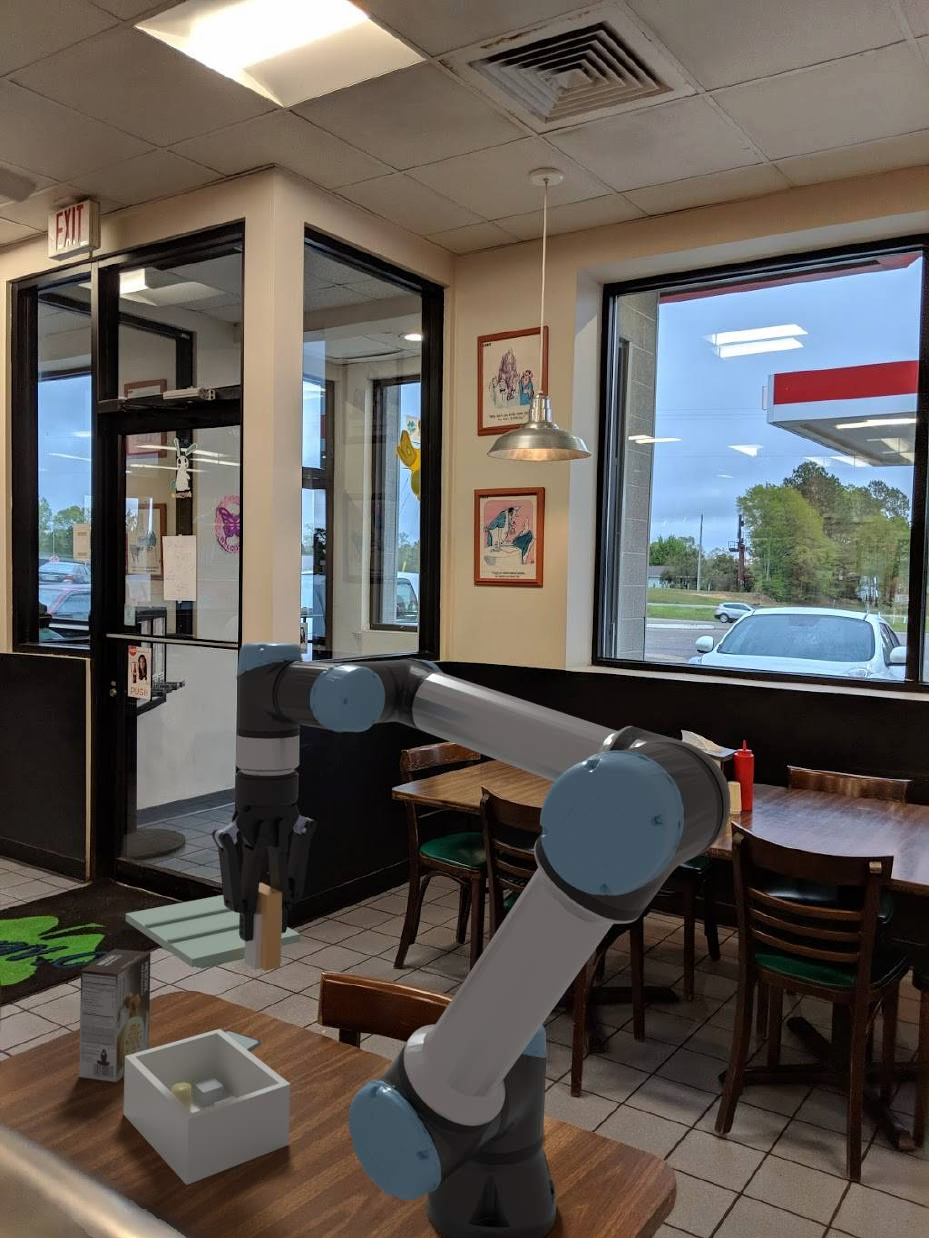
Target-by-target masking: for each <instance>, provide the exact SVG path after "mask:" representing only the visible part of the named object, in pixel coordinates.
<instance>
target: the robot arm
mask: <svg viewBox="0 0 929 1238" xmlns="http://www.w3.org/2000/svg"><path fill="white" fill-rule="evenodd" d="M237 664H238V667H237V675H236V681H237V683H236V687H237V689H236V691H237V693H236V694H237V697H236V737H235V739H236V745H235V747H236V748H235V749H236V750H235V754H236V755H235V766H236V767H237V768H238V769H239V770H238V771H237V772H236V773H235V776H234V778H235V780H234V802H235V803H234V804H235V810H234V812H233V814H232V817H231V822H230V823H228V824H227V825H226V826H225V827H224V828H221V829H219V828H216V829H214V830H213V831H212V832H211V837H212V839H213V841H214V843H215V845H216V847H217V849H218V859H219V870H220V876H221V877H220V879H221V885H222V886H221V887H222V888H221V889H222V895H223V898H224V905H225V907H227V908H229V909H230V910H232V911H234V912H236V913H239V915H240V916H239V936H240V938H241V939H242V940H244V941H245V957H244V959H243V960H244V964H245V965H247V966H249V968H252V969H253V970H255V971H256V970H259V969H261V933H262V914H261V913H259V912H257V911H256V909H257V900H258V891H259V883H261V882H260V881H261V872H262V863H263V858H264V857H265V855H266V851H267V855H268V867H269V882H270V885H269V886H270V887H272V888H274V889H276V890H278V891H280V892H282V913H281V935H282V933H286V930H287V927H288V915H289V914H288V913H289V912H288V911H289V910H291V909H292V908H293V905H294V903H293V902H295V901H300V900H301V899H302V898H303V895H304V887H305V883H306V882H305V881H306V874H307V867H308V859H309V854H310V847H311V841H312V837H313V834H314V833H315V831H316V829H317V827H318V826H317V825H318V822H317V821H316V820H314V819H311V818H309V817H306V816H303V815H301V814H300V811H299V808H298V805H297V801H298V798H299V773H298V771H297V770H295V769H297V768H298V767H299V766H300V731H301V727H300V726H304V727H305V726H306V727H312V728H318V729H325V730H329V731H333V732H336V733H343V732H353V733H360V732H365V731H367V730H369V729H370V728H371V727H373V725H374V724H382V723H391V722H394V723H395V722H396V723H397V722H398V723H400V724H403V725H406V726H408V727H411V728H414V729H416V730H419V731H422V732H425V733H427V734H430V735H433V736H435V737H437V738H441V739H443V740H445V741H448V742H450V743H453V744H455V745H458V746H461V747H463V748H465V749H469V750H470V751H474V752H476V753H478V754H481V755H484V756H486V757H490V758H492V759H494V760H496V761H500V762H502V763H505V764H508V765H510V766H512V767H515V768H518V769H520V770H523V771H525V772H528V773H529V774H533V775H535V776H539V777H541V778H543V779H546V780H548V781H551V782H554V783H553V784H552V786H551V787H550V789H549V790H548V792H547V794H546V796H545V799H544V801H543V804H542V808H541V810H540V811H541V812H540V816H539V817H540V818H539V825H540V826H541V828H542V832H541V833H540V835H539V837H538V838H537V839H536V841H535V844H534V846H533V856H534V858H535V862H536V864H537V867H538V868H537V869H536V871H535V872H534V874H533V875H532V877H531V879H530V880H529V881H528V883H527V884H526V886H525V887H524V889H523V890H522V892H521V893H520V895H519V896H518V898H517V900H516V901H515V903H514V904H513V906H512V907H511V909H509V912H508V913H507V915H506V917H505V918H504V920H503V921H502V923H501V924H500V925H499V927H498V929H497V930H496V932H495V933H494V935H493V937H492V938H491V939H490V941H489V943H488V944H487V945H486V947H485V949H484V950H483V952H482V953H481V954H480V956H479V957H478V959H477V961H476V962H475V964H474V966H473V967H472V969H471V970H470V971H469V972H468V974H467V976H466V978H465V979H464V980H463V982H462V983H461V985H460V987H459V989H458V990H457V991H456V993H455V994H454V996H453V997H452V999H451V1001H450V1002H449V1003H448V1005H447V1007H445V1010H444V1012H443V1013H442V1014H441V1015H440V1017H439V1019H437V1022H436V1023H435V1024H429V1025H428V1024H426V1025H424V1026H421V1027H420V1028H418V1029H416V1030H415V1031H414V1032H413V1033H412V1034H411V1036H410V1037H409V1038H408V1039H407V1041H406V1043H405V1044H404V1046H403V1047H402V1048H401V1050H400V1052H399V1053H398V1054H397V1056H396V1058H394V1059H395V1060H394V1061H393V1063H392V1064H391V1065H390V1067H389V1068H388V1069H386V1071H385V1072H384V1073H383V1074H382V1075H381V1076H379V1077H378V1078H376V1079H372V1080H370V1081H367V1083H365V1084H364V1086H363V1087H362V1088H360V1090H359V1091H357V1093H356V1094H355V1095H354V1097H353V1098H352V1101H351V1103H350V1106H349V1112H348V1130H349V1135H350V1137H351V1140H352V1142H351V1143H352V1147H353V1150H354V1152H355V1155H356V1157H357V1159H358V1161H359V1164H360V1166H361V1167H362V1169H363V1170H364V1172H365V1173H366V1174H367V1176H368V1178H370V1179H371V1181H372V1182H373V1183H374V1184H375V1185H376V1186H377V1187H378V1188H379V1189H380V1190H381V1191H383V1192H384V1193H385V1194H387V1195H389V1196H391V1197H393V1198H398V1199H399V1200H402V1201H413V1200H414V1201H415V1200H417V1199H419V1198H421V1197H423V1196H424V1195H425V1196H426V1194H427V1196H426V1197H427V1199H426V1200H427V1201H426V1202H427V1203H426V1210H427V1211H426V1212H427V1215H428V1217H429V1220H430V1223H431V1224H432V1225H433V1227H435V1229H436V1230H437V1231H438V1232H439V1233H440V1234H441V1235H443V1236H444V1237H446V1238H544V1237H545V1236H547V1234H548V1233H549V1232H550V1231H551V1230H552V1228H553V1226H554V1225H555V1223H556V1216H557V1192H556V1188H555V1184H554V1182H553V1180H552V1174H551V1170H550V1167H549V1166H550V1165H549V1163H548V1158H547V1156H546V1151H545V1150H544V1149H545V1148H544V1126H545V1125H544V1124H545V1104H546V1103H545V1099H546V1079H547V1077H546V1074H547V1073H546V1072H547V1058H548V1051H547V1033H546V1028H545V1026H544V1025H543V1023H544V1022H545V1021H546V1020H547V1018H548V1017H549V1015H550V1014H551V1012H552V1011H553V1009H554V1008H555V1006H557V1004H558V1003H559V1001H560V1000H561V998H562V997H563V995H564V994H565V993H566V991H567V990H568V988H569V987H570V986H571V984H572V983H573V981H574V980H575V978H576V977H577V976H578V974H579V973H580V971H581V970H582V968H583V967H584V966H585V964H586V963H587V961H588V960H589V959H590V957H591V956H592V955H593V953H594V952H595V950H596V949H597V947H598V946H599V945H600V944H601V942H602V940H603V939H604V937H605V936H606V935H607V933H608V931H609V930H610V929H611V928H612V926H613V925H615V924H616V925H617V924H618V925H619V924H621V925H622V924H623V925H624V924H631V923H633V922H635V921H637V919H639V918H640V916H641V915H642V914H643V912H644V911H645V909H646V908H647V907H648V906H649V904H650V903H651V901H652V900H653V898H654V897H655V896H656V895H657V893H658V892H659V890H660V889H661V888H662V886H663V884H664V883H665V882H666V880H667V879H668V878H669V877H670V875H671V874H672V873H673V871H674V870H676V868H678V867H679V866H680V865H683V864H685V862H688V861H690V860H692V859H694V858H697V857H698V856H700V855H702V854H704V853H705V852H707V851H708V850H709V849H711V847H713V846H714V845H715V844H716V843H717V842H718V840H719V839H720V837H721V836H722V834H723V833H724V831H725V829H726V828H727V824H728V822H729V819H730V814H731V808H732V807H731V804H732V803H731V791H730V788H729V785H728V781H727V778H726V776H725V775H724V773H723V771H722V770H721V768H720V766H719V765H718V763H717V762H716V761H715V760H714V759H713V758H712V757H711V756H710V755H709V754H708V753H706V752H705V751H703V749H701V748H699V747H697V746H695V745H693V744H692V743H690V742H686V741H683V740H680V739H676V738H674V737H668V736H666V735H662V734H659V733H655V732H652V731H648V730H645V729H642V728H640V727H635V726H632V725H628V726H625V727H624V728H621V729H620V730H615V729H612V728H608V727H605V726H603V725H601V724H597V723H594V722H591V721H589V720H585V719H581V718H579V717H576V716H573V715H569V714H567V713H565V712H562V711H558V710H555V709H552V708H548V707H546V706H543V705H540V704H536V703H534V702H532V701H531V702H530V701H528V700H524V699H522V698H520V697H519V698H518V697H516V696H514V695H513V696H512V695H511V694H508V693H507V694H506V693H504V692H501V691H498V690H495V689H491V688H488V687H486V686H483V685H479V684H476V683H473V682H471V681H467V680H465V679H463V678H462V679H461V678H458V677H455V676H452V675H449V674H446V673H444V671H442V670H441V668H440V667H439V666H438V665H437V664H435V663H434V662H432V661H431V660H430V661H429V660H425V659H417V658H416V659H415V658H411V657H410V658H403V659H402V658H401V659H397V660H396V659H394V660H381V661H377V660H376V661H358V662H357V661H356V662H334V663H333V662H313V661H310V662H309V661H304V658H303V656H302V648H301V646H300V645H299V644H298V643H293V642H276V641H273V642H272V641H269V642H268V641H260V642H259V641H258V642H257V641H256V642H254V641H253V642H247V643H245V644H244V645H242V646H241V647H240V649H239V655H238V663H237ZM292 830H293V832H292ZM291 832H292V835H291V841H290V849H289V840H288V839H289V838H288V837H289V835H290V834H291ZM237 833H238V835H239V836H240V837H241V839H242V849H241V850H242V853H243V857H242V864H241V865H242V867H241V875H240V866H239V858H238V856H239V855H238V850H237V846H236V844H237V842H238V838H237ZM288 852H289V856H288ZM281 963H282V953H281V954H280V964H281Z"/></svg>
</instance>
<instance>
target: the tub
mask: <svg viewBox="0 0 929 1238" xmlns="http://www.w3.org/2000/svg"><path fill="white" fill-rule="evenodd" d="M225 1032H226V1031H224V1030H222V1029H221V1028H218V1029H215V1030H210V1031H208V1032H203V1033H200V1034H196V1035H193V1036H189V1037H187V1038H182V1039H180V1040H177V1041H172V1042H169V1043H166V1044H163V1045H159V1046H155V1047H152V1048H149V1049H148V1050H144V1051H141V1052H137V1053H134V1054H131V1055H127V1056H125V1075H124V1076H123V1077H124V1078H123V1079H124V1080H123V1081H124V1084H123V1115H124V1117H125V1118H126V1119H127V1121H129V1122H130V1124H131V1125H132V1126H133V1127H134V1128H135V1130H137V1131H138V1132H139V1133H140V1135H142V1136H143V1138H144V1139H145V1140H146V1141H147V1142H148V1144H149V1145H150V1146H151V1147H152V1148H153V1149H154V1151H156V1153H157V1154H158V1155H159V1156H160V1157H161V1158H162V1160H164V1162H165V1163H166V1164H167V1165H168V1166H169V1167H170V1169H172V1171H174V1173H175V1174H176V1175H177V1176H178V1177H179V1178H180V1180H181V1181H182V1182H183V1183H184V1184H185V1185H186V1186H188V1185H191V1184H193V1183H195V1182H197V1181H201V1180H203V1179H205V1178H208V1177H211V1176H214V1175H216V1174H218V1173H221V1172H223V1171H227V1170H229V1169H231V1168H234V1167H236V1166H239V1165H241V1164H244V1163H246V1162H249V1161H251V1160H254V1159H257V1158H259V1157H261V1156H264V1155H267V1154H269V1153H272V1152H274V1151H277V1150H280V1149H281V1148H284V1147H288V1146H289V1143H290V1139H289V1137H290V1113H291V1112H290V1111H291V1110H290V1109H291V1108H290V1107H291V1083H290V1082H288V1081H287V1080H286V1079H285V1078H283V1077H282V1075H280V1074H279V1073H277V1072H276V1071H275V1070H273V1069H272V1068H271V1067H270V1066H268V1065H267V1064H266V1063H264V1062H263V1061H262V1060H261V1059H259V1057H256V1056H255V1055H254V1054H253V1053H252V1052H251V1051H248V1050H247V1049H245V1048H244V1047H243V1046H241V1045H240V1044H239V1043H238V1042H236V1041H235V1040H234V1039H233V1038H231V1037H230V1036H229V1035H227V1034H226V1033H225Z"/></svg>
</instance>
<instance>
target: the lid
mask: <svg viewBox="0 0 929 1238" xmlns="http://www.w3.org/2000/svg"><path fill="white" fill-rule="evenodd" d="M256 911H257V912H259V913H261V914H262V933H261V968H260V969H261V970H263V971H264V972H266V971H267V972H268V971H270V970H274V969H278V968H280V967H281V963H280V954H281V955H282V947H283V946H287V945H293V944H296V943H300V942H301V933H299V932H298V931H296V930H294V929H293V928H290V927H288V926H287V930H286V933H282V935H281V913H282V892H280V891H278V890H276V889H274V888H272V887H271V885H267V884H265V883H263V882H259V891H258V900H257V909H256ZM239 916H240V915H239V913H236V912H234V911H232V910H230V909H229V908H227V907H225V905H224V898H223V894H222V895H216V896H211V897H206V898H201V899H200V898H199V899H196V900H195V899H194V900H190V901H185V902H179V903H174V904H169V905H163V906H158V907H154V908H147V909H144V910H143V909H142V910H138V911H131V912H127V913H125V922H126V923H128V924H129V925H131V926H132V927H134V928H135V929H136V930H138V931H139V932H141V933H142V934H144V935H145V936H146V937H148V938H149V939H151V940H152V941H154V942H155V943H156V944H158V945H159V946H161V947H162V948H164V949H165V950H167V951H168V952H169V953H171V954H172V955H173V956H175V957H176V958H178V959H179V960H181V961H182V962H183V963H185V964H187V965H188V966H189V967H191V968H197V969H199V968H200V969H201V970H202V969H206V968H207V969H208V968H211V967H215V966H218V965H223V964H228V963H231V962H236V961H240V960H244V957H245V941H244V940H242V939H241V938H240V936H239Z"/></svg>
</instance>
